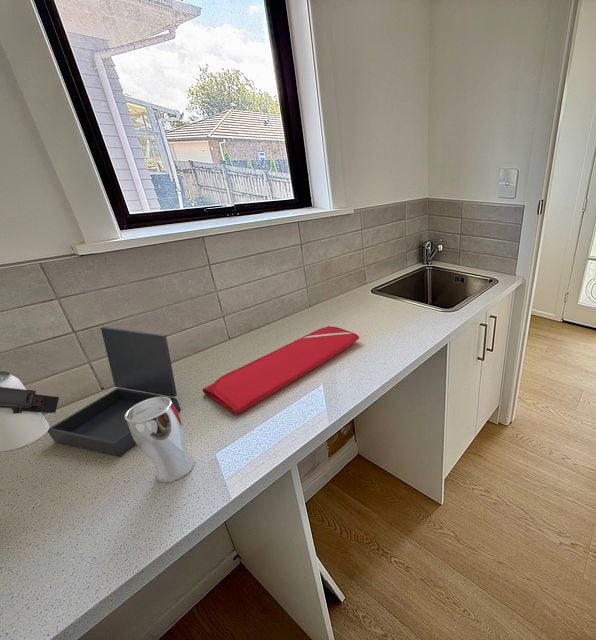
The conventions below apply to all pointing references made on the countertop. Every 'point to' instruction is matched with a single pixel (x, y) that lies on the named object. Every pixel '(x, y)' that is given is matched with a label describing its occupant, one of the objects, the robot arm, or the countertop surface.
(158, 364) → the lid
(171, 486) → the countertop surface
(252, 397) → the dish drying mat
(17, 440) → the can
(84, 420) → the tray
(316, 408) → the countertop surface
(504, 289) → the countertop surface
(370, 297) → the countertop surface
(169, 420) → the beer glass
